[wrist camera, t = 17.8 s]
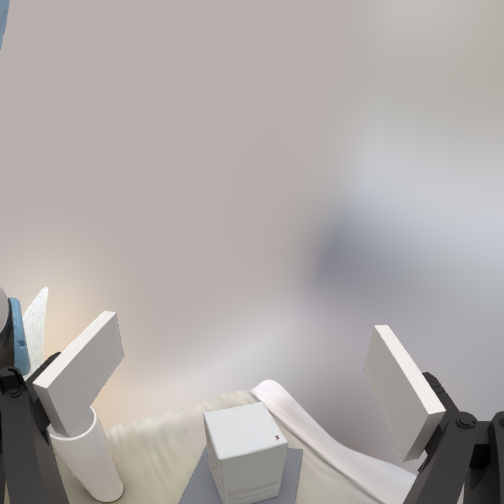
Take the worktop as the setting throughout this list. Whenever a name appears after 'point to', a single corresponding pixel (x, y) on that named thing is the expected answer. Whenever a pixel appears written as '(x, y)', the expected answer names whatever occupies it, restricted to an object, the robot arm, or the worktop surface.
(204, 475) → the rubber mat
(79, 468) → the drinking glass
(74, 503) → the worktop surface
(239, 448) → the supplement box
